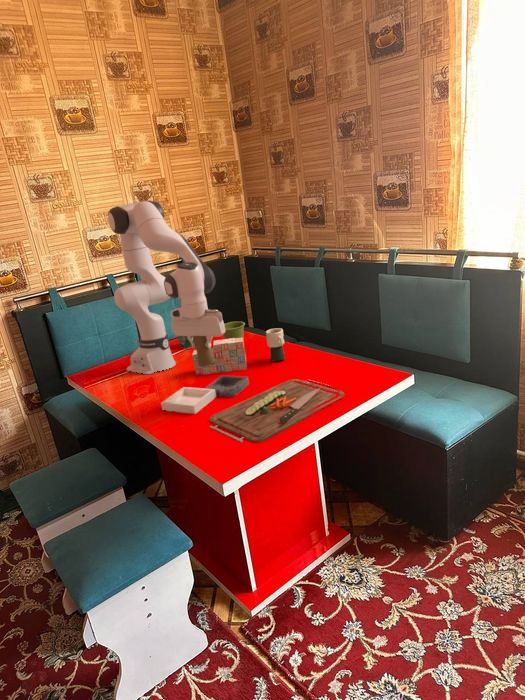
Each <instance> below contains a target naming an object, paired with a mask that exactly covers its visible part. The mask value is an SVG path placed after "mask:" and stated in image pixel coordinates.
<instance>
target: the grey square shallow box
mask: <svg viewBox="0 0 525 700" xmlns="http://www.w3.org/2000/svg"><path fill="white" fill-rule="evenodd" d="M249 385H250V382H249V376H240V375H237V376H236V375H220V376H219V377H218V378H216V379H215V380H213V381H212V382H211V383H210V384H208V385H207V386H206V387H205V389H215V392H216V396H218V397H219V396H221V397H229V398H230V397H231V398H234V397H236V396H237V395H239V393H240V392H241V391H243V390H244V389H245V388H247V386H249Z"/></svg>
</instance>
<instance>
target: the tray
mask: <svg viewBox="0 0 525 700" xmlns="http://www.w3.org/2000/svg"><path fill="white" fill-rule="evenodd" d="M215 398H217V395H216V392H215V389H206V388H203V387H202V388H201V387H189V386H188V387H187V386H186V387H185V386H183V387H182V388H180V389H179V390H177V391H176V392H175V393H172V394H171V395H170V396H168V397H167V398H166V399H164V400H163V401H162V402H160V405H161V409H162V411H163V410H166V411H165V412H173V411H174V413H175V412H176V413H183V414H184V413H185V414H193V415H194V414H195V415H196V414H197V413H198V412H200V411H201V410H202V409H203V408H204V407H206V406H207V405H208V404H209V403H211V402H212V401H213V400H214V399H215Z"/></svg>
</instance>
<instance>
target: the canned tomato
mask: <svg viewBox="0 0 525 700" xmlns="http://www.w3.org/2000/svg"><path fill="white" fill-rule="evenodd" d="M177 337H178V338H177V339H178V342H179V343H178V344H179V348H180V349H181V348H184V349H183V350H186V349H185V348H188V349H191V347H192V344H191V342H190V341H189V340H188V338H187V336H177ZM192 348H193V347H192Z"/></svg>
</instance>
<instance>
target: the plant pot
mask: <svg viewBox="0 0 525 700" xmlns="http://www.w3.org/2000/svg"><path fill="white" fill-rule="evenodd" d="M224 325H225V330H226V331H225V333H224V334H223V335H222V336H223V337H224V339H230V338H242V337H243V338H244V333H245V332H244V329H245V325H246V323H245V322H243V321H230V322H227V323H224Z"/></svg>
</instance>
